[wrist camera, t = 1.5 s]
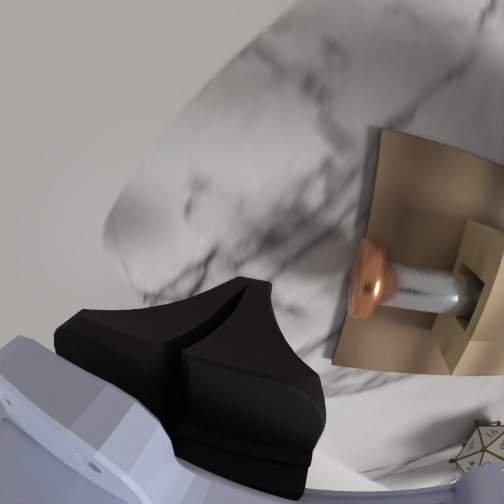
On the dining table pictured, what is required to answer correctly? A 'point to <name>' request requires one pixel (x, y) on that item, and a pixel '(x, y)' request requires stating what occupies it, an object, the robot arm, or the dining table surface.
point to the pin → (406, 286)
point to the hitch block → (434, 260)
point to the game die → (482, 448)
